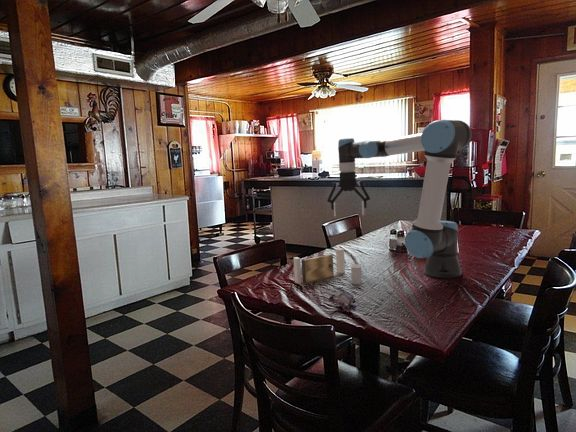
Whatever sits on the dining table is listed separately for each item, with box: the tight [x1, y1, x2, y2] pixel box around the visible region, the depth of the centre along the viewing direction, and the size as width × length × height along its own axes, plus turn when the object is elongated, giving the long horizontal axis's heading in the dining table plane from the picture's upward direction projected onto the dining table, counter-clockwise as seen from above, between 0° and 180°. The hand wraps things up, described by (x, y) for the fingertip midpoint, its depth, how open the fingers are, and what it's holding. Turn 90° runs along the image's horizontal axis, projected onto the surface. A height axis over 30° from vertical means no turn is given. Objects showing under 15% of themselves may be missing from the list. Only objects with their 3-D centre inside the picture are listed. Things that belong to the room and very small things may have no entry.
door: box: [300, 253, 335, 283], centre depth 169 cm, size 16×3×10 cm, turn 119°
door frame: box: [292, 247, 346, 285], centre depth 172 cm, size 4×25×11 cm, turn 119°
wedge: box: [350, 263, 362, 285], centre depth 164 cm, size 5×4×7 cm
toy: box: [328, 291, 373, 313], centre depth 138 cm, size 11×7×15 cm
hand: (349, 215), depth 189 cm, fingers open, 13 cm apart
